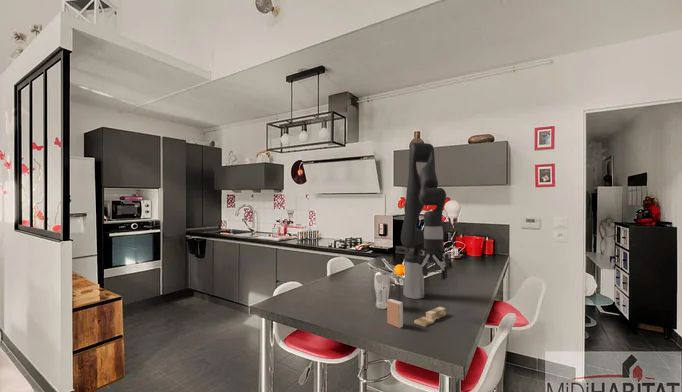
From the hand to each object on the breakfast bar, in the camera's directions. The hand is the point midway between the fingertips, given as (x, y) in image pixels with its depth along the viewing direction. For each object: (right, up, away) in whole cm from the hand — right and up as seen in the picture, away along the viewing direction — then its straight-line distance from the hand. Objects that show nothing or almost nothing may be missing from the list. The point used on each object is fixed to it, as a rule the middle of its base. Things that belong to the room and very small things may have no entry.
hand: (434, 277), depth 125 cm
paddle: (-2, -16, -1) cm, 17 cm away
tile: (-17, -16, -6) cm, 24 cm away
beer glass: (-19, -17, +14) cm, 29 cm away
